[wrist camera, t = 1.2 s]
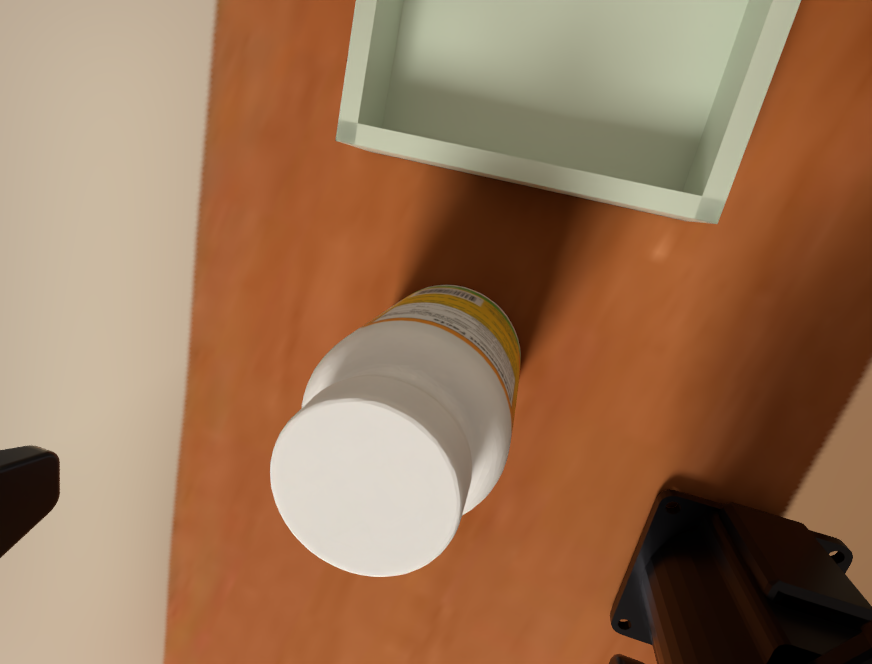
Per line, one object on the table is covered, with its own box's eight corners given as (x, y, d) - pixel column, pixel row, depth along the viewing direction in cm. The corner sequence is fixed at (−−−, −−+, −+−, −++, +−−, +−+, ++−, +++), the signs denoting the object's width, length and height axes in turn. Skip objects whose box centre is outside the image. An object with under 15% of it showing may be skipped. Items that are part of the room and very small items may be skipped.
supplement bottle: (436, 441, 20) (343, 645, 11) (356, 333, 19) (187, 448, 10) (551, 372, 18) (559, 544, 9) (466, 253, 18) (382, 303, 8)
